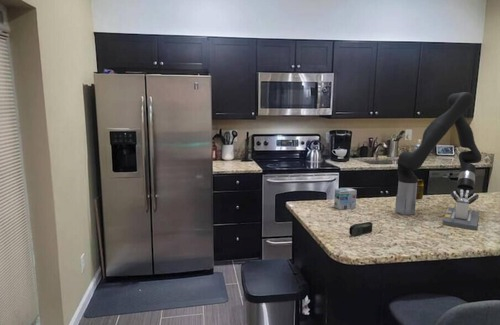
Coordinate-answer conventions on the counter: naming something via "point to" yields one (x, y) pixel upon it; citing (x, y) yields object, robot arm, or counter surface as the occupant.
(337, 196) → the light bulb box
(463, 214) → the slider tab
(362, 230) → the mobile phone
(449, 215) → the switch board
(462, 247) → the counter surface
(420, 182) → the condiment
